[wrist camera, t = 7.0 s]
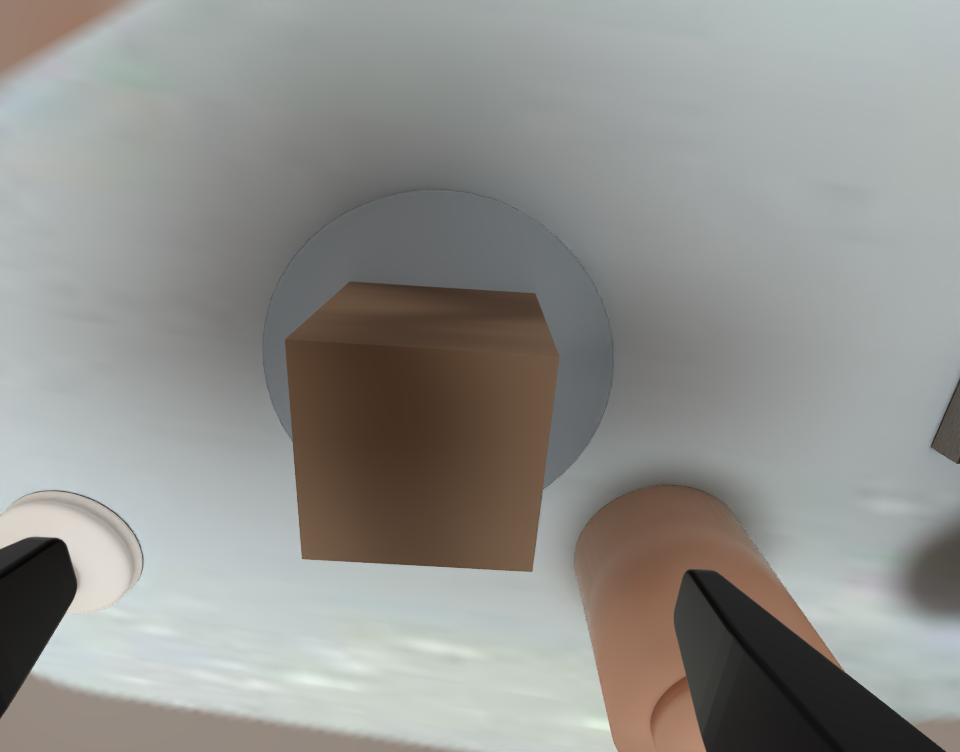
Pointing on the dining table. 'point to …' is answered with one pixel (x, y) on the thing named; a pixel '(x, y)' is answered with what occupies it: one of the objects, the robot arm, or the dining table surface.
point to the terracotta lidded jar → (663, 605)
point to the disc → (456, 264)
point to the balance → (950, 431)
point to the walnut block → (422, 425)
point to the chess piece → (80, 543)
